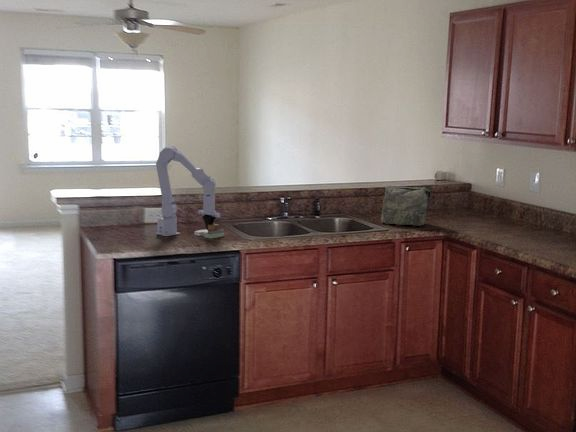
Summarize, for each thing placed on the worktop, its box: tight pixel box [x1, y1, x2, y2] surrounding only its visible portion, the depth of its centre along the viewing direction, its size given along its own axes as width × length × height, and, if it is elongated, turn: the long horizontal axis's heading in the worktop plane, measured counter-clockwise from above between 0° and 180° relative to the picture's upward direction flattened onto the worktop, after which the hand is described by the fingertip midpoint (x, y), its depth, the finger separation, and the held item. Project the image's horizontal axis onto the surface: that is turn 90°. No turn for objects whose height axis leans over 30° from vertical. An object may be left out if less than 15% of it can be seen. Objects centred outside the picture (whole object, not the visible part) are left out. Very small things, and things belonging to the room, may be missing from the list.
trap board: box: [194, 228, 225, 240], centre depth 336 cm, size 9×12×4 cm
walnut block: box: [208, 223, 220, 233], centre depth 333 cm, size 4×4×4 cm
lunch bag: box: [380, 185, 431, 227], centre depth 384 cm, size 26×18×22 cm
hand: (209, 229), depth 336 cm, fingers closed
